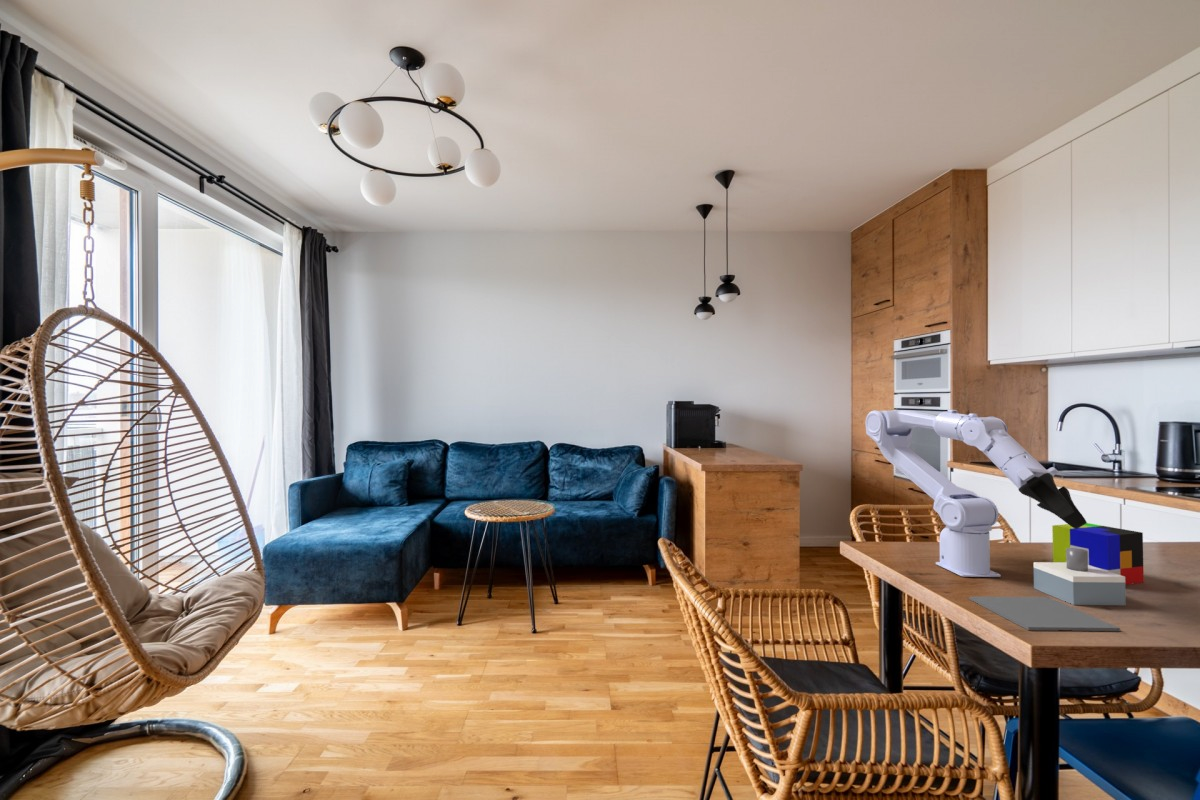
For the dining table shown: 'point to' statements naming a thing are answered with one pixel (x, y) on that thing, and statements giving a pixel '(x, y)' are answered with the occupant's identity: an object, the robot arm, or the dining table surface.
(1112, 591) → the storage box
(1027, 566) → the dining table surface
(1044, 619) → the mat
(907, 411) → the robot arm
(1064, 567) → the lid
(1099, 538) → the puzzle toy
